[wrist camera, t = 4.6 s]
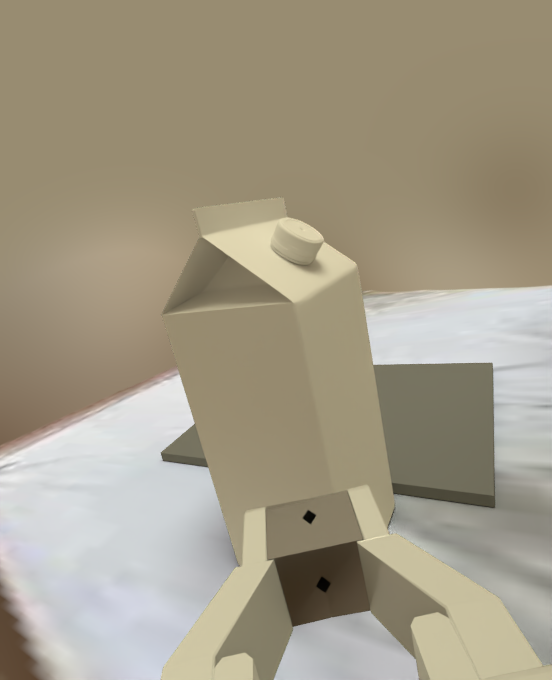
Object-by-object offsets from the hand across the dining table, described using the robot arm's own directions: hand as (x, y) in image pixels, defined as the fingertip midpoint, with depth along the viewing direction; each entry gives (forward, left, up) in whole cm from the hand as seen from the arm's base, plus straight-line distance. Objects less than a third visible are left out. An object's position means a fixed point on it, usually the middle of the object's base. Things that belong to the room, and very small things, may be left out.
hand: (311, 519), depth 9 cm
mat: (-24, -10, -11) cm, 28 cm away
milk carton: (-10, -6, -11) cm, 16 cm away
